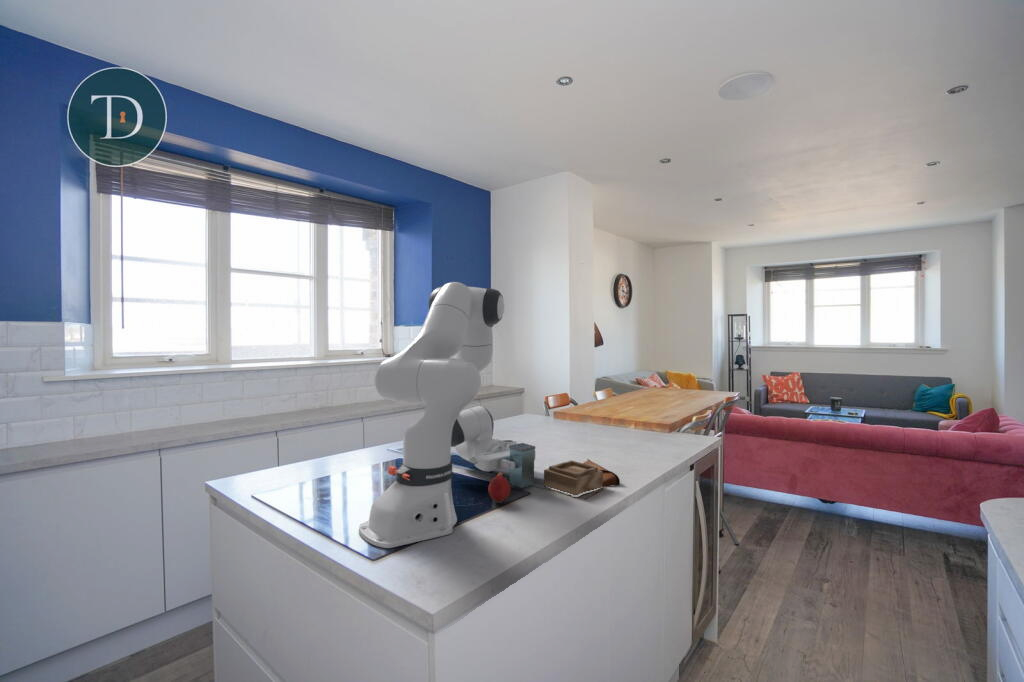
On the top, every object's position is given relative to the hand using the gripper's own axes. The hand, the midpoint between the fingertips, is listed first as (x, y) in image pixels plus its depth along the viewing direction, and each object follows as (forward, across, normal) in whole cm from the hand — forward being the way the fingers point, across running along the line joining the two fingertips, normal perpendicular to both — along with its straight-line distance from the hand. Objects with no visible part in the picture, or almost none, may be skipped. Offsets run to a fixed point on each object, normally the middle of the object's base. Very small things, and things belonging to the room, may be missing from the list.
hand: (524, 463), depth 136 cm
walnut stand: (+9, +11, +7) cm, 16 cm away
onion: (+4, -13, +8) cm, 15 cm away
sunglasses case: (+7, +23, +8) cm, 25 cm away
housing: (-1, 0, +6) cm, 6 cm away
